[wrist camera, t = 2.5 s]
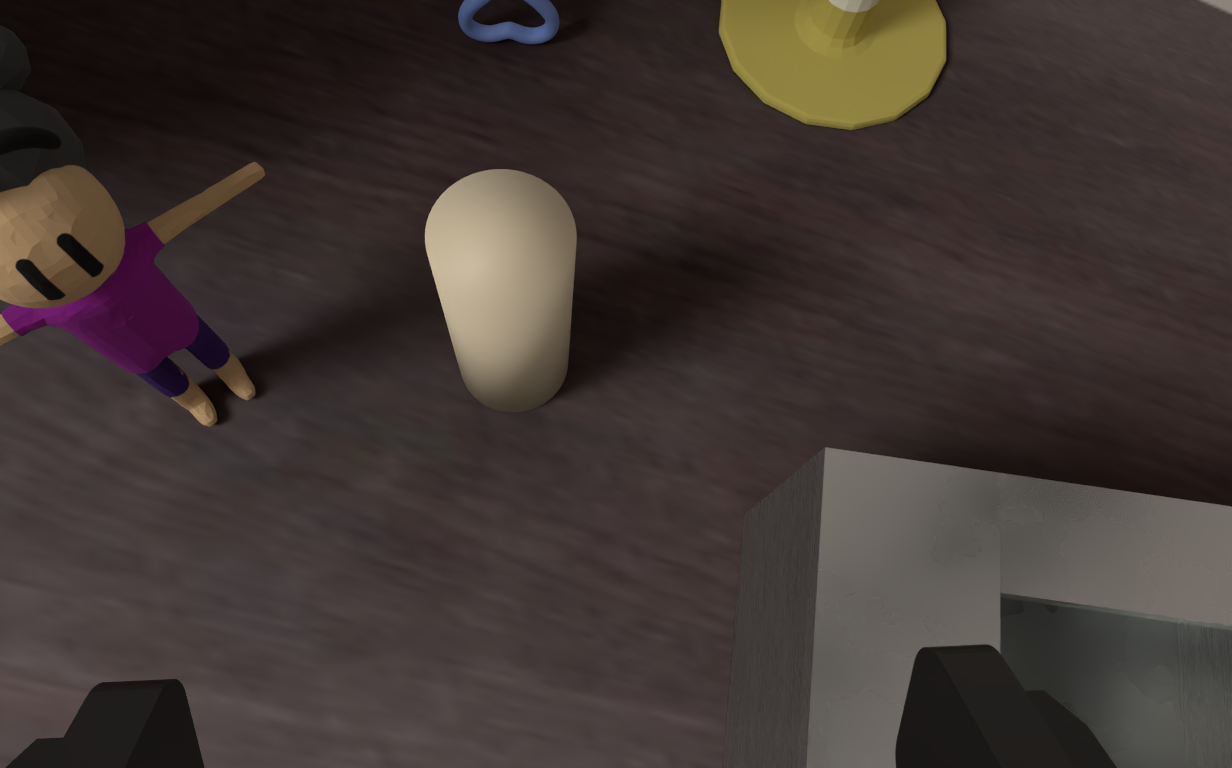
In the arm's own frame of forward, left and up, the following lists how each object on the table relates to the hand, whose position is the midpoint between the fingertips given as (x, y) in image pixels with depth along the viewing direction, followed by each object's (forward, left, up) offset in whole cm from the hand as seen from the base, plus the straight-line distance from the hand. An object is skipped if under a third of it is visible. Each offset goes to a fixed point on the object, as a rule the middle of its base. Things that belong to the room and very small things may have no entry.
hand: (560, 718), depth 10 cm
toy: (+14, -9, -21) cm, 27 cm away
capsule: (+3, -11, -21) cm, 24 cm away
